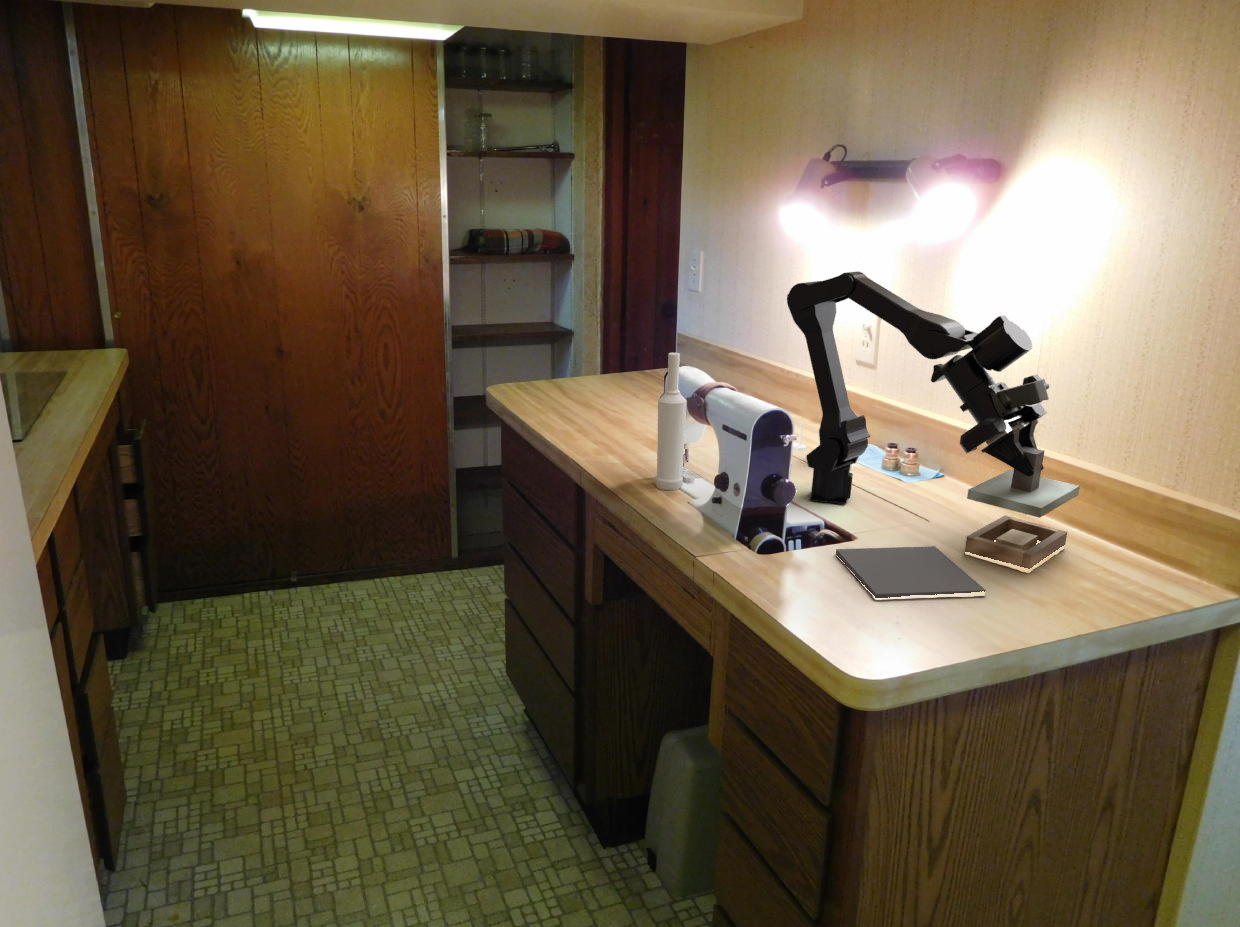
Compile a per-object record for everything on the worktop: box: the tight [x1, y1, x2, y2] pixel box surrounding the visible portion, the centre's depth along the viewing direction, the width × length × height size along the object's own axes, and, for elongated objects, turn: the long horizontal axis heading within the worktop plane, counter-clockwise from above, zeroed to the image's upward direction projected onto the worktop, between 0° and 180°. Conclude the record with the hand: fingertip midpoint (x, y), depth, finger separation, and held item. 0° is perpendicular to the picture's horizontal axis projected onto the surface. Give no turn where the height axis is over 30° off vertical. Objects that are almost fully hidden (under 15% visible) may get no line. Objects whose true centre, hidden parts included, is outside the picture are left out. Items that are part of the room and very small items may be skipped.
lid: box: [966, 447, 1080, 518], centre depth 141 cm, size 11×15×8 cm
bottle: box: [654, 352, 688, 491], centre depth 169 cm, size 5×5×25 cm
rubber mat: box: [835, 545, 987, 598], centre depth 136 cm, size 16×16×1 cm
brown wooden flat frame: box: [964, 514, 1068, 569], centre depth 145 cm, size 10×14×3 cm
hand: (1036, 472), depth 140 cm, fingers closed on lid, 3 cm apart
